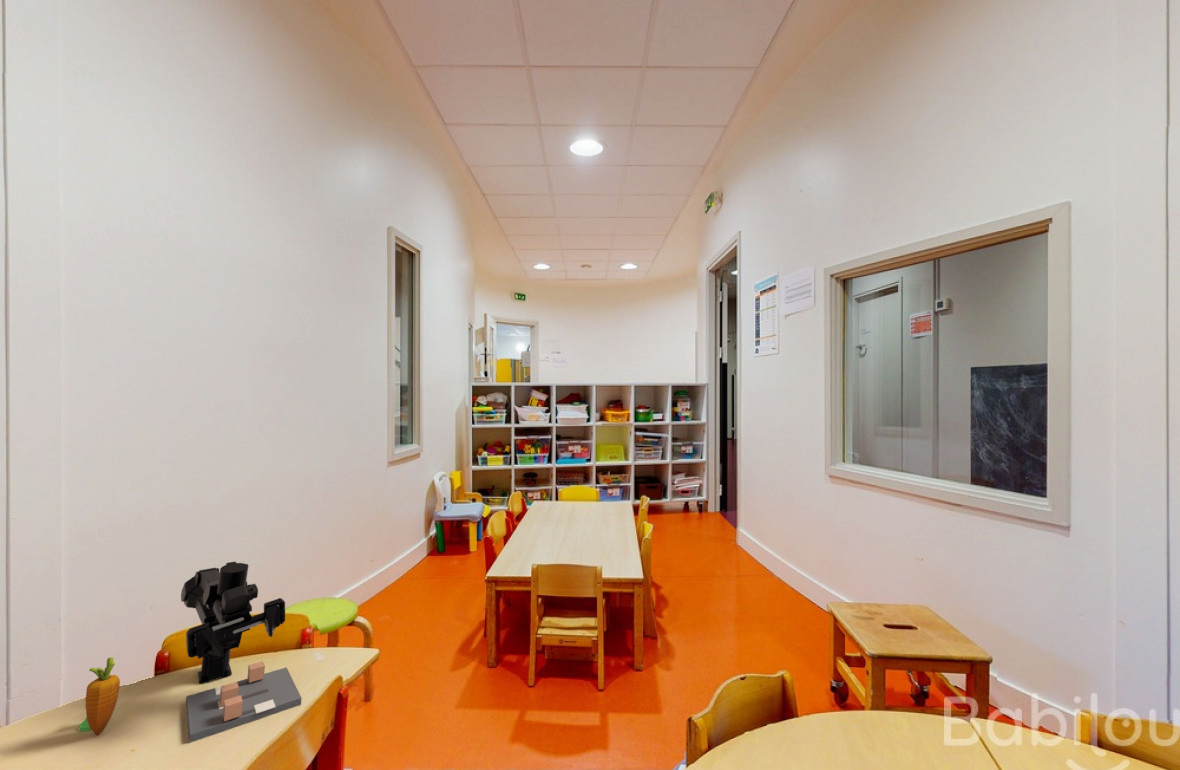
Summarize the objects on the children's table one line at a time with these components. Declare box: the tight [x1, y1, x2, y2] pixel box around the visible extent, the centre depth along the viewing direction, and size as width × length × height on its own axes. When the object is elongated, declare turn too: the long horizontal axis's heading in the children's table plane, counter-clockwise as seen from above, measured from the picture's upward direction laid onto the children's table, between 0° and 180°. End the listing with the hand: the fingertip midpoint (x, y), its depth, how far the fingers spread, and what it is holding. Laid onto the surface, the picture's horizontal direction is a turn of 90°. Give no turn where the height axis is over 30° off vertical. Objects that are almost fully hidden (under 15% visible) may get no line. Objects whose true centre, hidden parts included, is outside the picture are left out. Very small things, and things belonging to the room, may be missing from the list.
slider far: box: [246, 660, 266, 683], centre depth 115 cm, size 3×3×3 cm
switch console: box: [185, 667, 302, 743], centre depth 108 cm, size 18×20×2 cm
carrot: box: [85, 656, 121, 736], centre depth 97 cm, size 5×5×15 cm
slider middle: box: [220, 681, 239, 706], centre depth 106 cm, size 3×3×3 cm
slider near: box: [223, 695, 243, 721], centre depth 101 cm, size 3×3×3 cm
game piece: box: [78, 716, 92, 732], centre depth 99 cm, size 4×4×6 cm
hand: (247, 644), depth 104 cm, fingers open, 9 cm apart
